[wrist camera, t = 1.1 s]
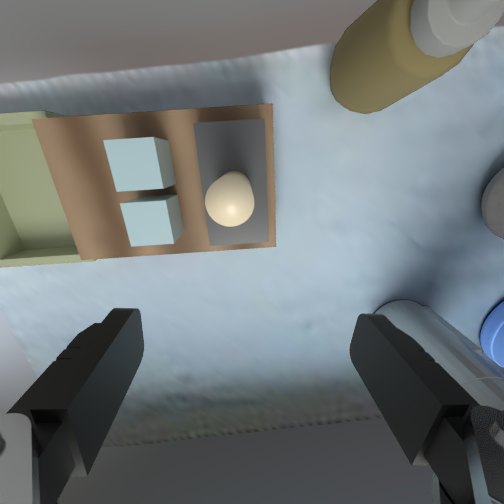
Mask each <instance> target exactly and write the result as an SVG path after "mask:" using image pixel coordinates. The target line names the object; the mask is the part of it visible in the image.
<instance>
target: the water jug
mask: <svg viewBox="0 0 504 504" xmlns="http://www.w3.org/2000/svg"><path fill="white" fill-rule="evenodd" d="M480 342H481V346H482V349H483V351H484V352H485V353H486V355H487V356H488V357H489V358H491V359H492V360H493V361H494V362H496V363H497V364H498V365H499V366H501V367H503V368H504V301H503V302H502V303H500V304H499V305H498V306H497V307H496V308H495V309H494V310H493V311H492V312H491V313H490V315H489V316H488V317H487V319H486V320H485V322H484V324H483V327H482V329H481V334H480Z"/></svg>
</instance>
